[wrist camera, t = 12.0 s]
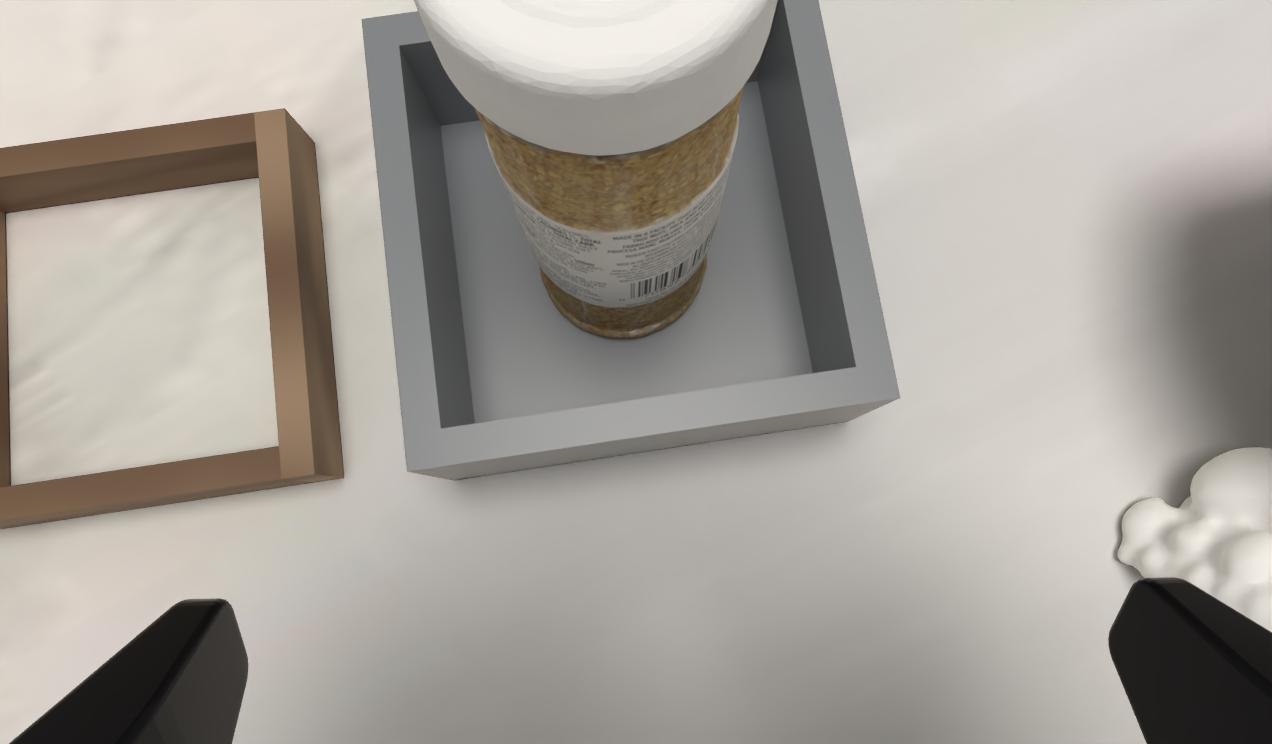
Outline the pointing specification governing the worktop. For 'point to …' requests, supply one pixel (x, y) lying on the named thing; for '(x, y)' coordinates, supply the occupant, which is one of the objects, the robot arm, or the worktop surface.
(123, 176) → the walnut holder
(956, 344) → the worktop surface
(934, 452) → the worktop surface
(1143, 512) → the white coral
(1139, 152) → the worktop surface
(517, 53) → the sprinkles bottle
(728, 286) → the grey bin
